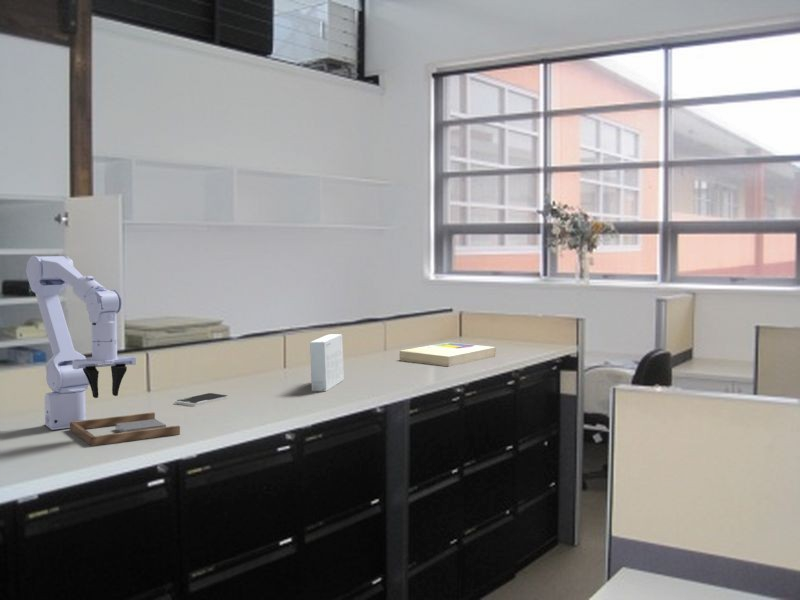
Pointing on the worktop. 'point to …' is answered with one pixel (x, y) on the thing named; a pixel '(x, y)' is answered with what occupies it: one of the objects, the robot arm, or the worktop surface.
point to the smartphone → (201, 399)
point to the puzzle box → (447, 354)
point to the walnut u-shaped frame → (92, 440)
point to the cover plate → (139, 425)
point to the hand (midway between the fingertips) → (105, 396)
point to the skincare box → (326, 362)
